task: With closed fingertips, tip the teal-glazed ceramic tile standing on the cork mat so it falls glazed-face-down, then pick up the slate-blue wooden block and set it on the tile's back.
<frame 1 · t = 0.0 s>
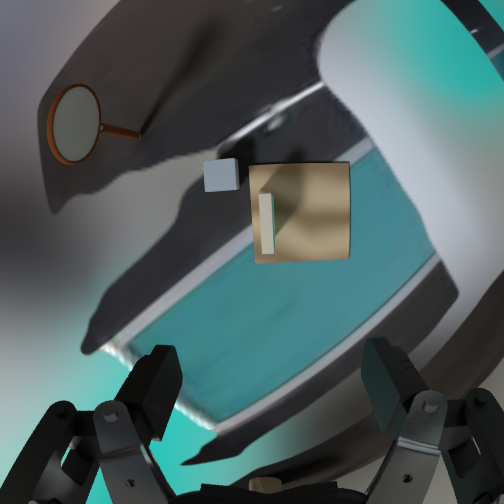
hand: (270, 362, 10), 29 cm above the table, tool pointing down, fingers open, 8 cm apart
block: (224, 174, 37), on the table
cork mat: (301, 213, 38), on the table
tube: (265, 481, 61), on the table
tile: (266, 215, 38), resting on cork mat
magnifying glass: (140, 136, 36), on the table
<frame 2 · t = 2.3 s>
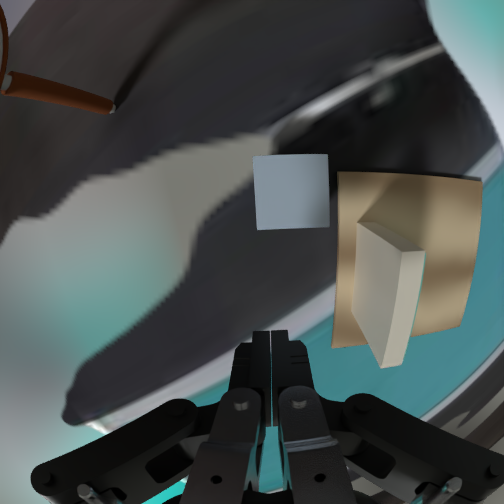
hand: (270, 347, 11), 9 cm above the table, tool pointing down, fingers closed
block: (287, 187, 18), on the table
cork mat: (416, 263, 19), on the table
tile: (363, 268, 19), resting on cork mat
magnifying glass: (114, 109, 17), on the table
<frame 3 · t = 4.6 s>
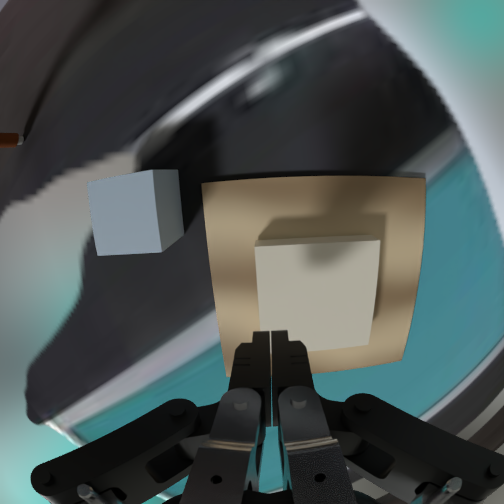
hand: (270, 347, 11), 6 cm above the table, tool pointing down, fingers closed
block: (151, 205, 16), on the table
cork mat: (323, 287, 17), on the table
tile: (258, 300, 16), point 1 cm above the table, tilted 90°, touching cork mat
magnifying glass: (24, 140, 15), on the table
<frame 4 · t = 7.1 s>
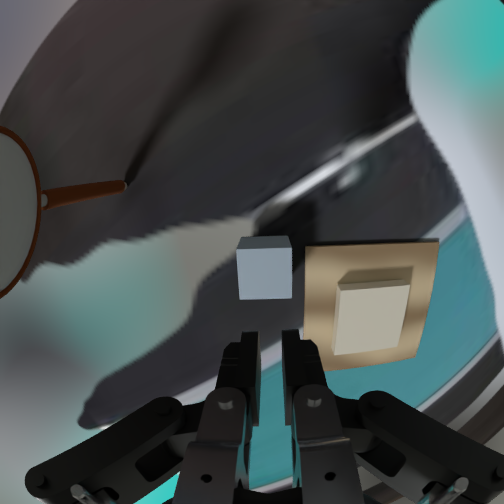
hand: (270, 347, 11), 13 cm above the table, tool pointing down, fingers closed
block: (265, 258, 24), on the table
cork mat: (371, 311, 25), on the table
tile: (335, 321, 24), point 1 cm above the table, tilted 90°, touching cork mat
magnifying glass: (126, 185, 23), on the table
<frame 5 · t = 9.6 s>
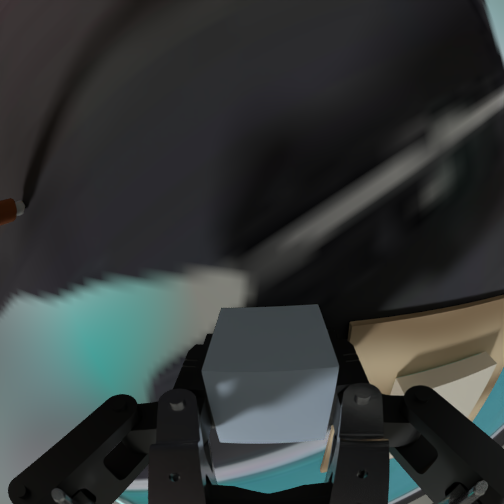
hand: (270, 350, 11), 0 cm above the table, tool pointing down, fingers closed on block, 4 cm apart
block: (271, 345, 12), on the table, touching gripper
cork mat: (432, 397, 13), on the table
tile: (384, 427, 12), point 1 cm above the table, tilted 90°, touching cork mat
magnifying glass: (26, 205, 10), on the table
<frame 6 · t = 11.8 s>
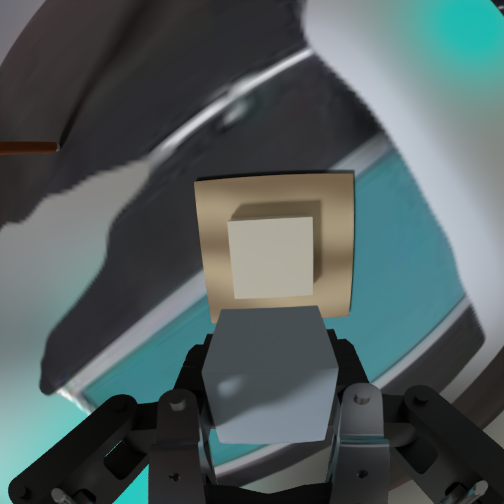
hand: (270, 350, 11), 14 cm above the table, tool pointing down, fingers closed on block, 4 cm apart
block: (270, 346, 12), point 14 cm above the table, touching gripper
cork mat: (278, 252, 25), on the table
tile: (231, 259, 24), point 1 cm above the table, tilted 90°, touching cork mat
magnifying glass: (60, 147, 23), on the table
when the fingers open (4 cm above the table, at t = 14.1 s): block drops 1 cm, resting on tile.
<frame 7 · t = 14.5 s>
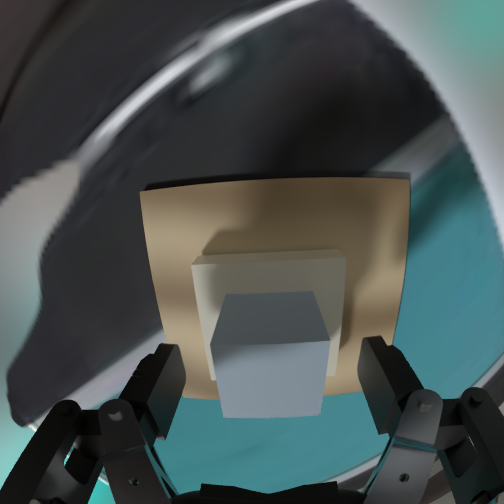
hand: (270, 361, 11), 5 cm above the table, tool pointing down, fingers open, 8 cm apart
block: (270, 329, 13), point 2 cm above the table, touching tile
cork mat: (282, 309, 15), on the table
tile: (204, 323, 14), point 1 cm above the table, tilted 90°, touching block, cork mat
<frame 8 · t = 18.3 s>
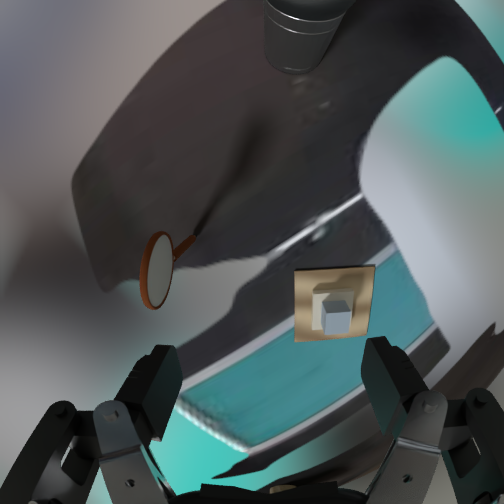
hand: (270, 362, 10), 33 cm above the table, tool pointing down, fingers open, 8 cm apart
block: (332, 311, 44), point 2 cm above the table, touching tile
cork mat: (333, 305, 46), on the table
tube: (283, 488, 69), on the table
tile: (312, 310, 45), point 1 cm above the table, tilted 90°, touching block, cork mat
magnifying glass: (194, 236, 44), on the table
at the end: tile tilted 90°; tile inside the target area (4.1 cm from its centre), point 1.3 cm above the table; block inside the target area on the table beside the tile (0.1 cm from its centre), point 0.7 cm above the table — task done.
